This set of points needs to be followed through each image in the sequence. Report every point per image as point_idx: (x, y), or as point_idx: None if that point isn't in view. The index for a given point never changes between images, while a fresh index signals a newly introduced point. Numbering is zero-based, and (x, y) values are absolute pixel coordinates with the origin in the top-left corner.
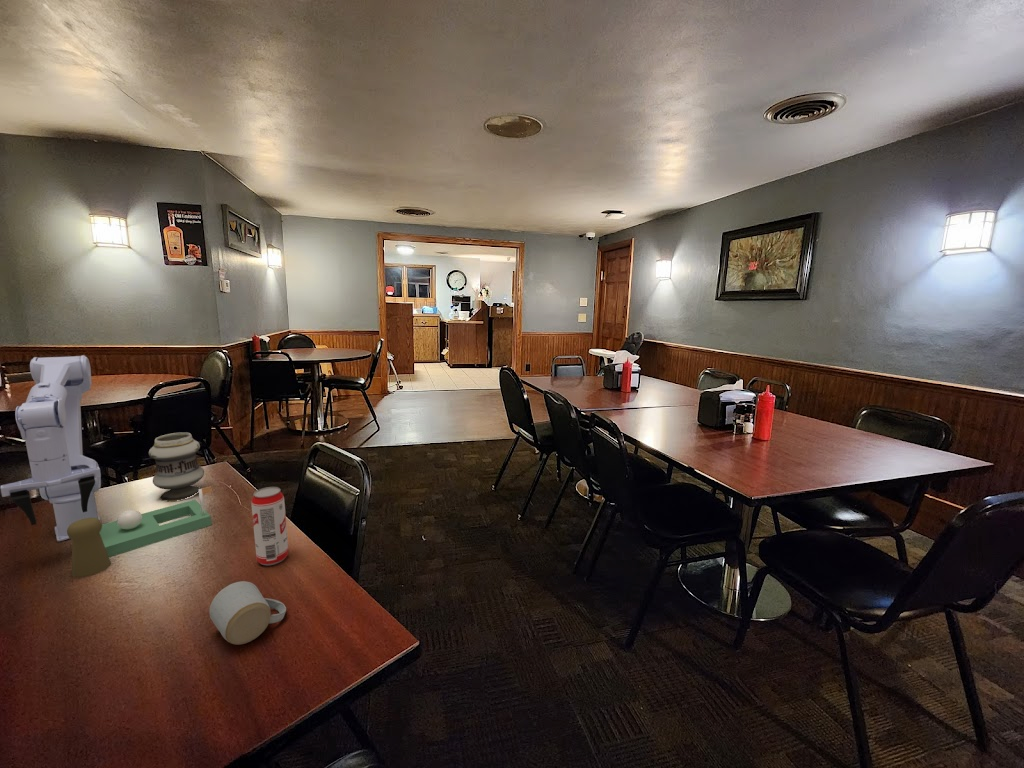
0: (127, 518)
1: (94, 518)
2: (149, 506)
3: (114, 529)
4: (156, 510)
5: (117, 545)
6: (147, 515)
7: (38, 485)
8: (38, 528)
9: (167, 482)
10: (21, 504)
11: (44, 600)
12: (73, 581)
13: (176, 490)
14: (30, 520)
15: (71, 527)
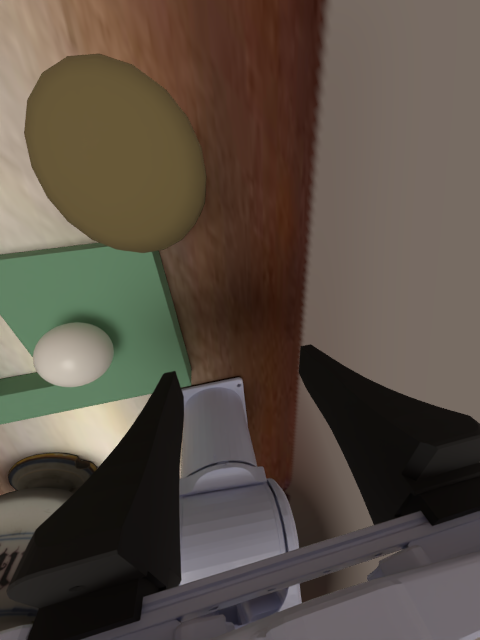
0: (63, 340)
1: (56, 183)
2: (110, 447)
3: (134, 351)
4: (56, 409)
5: (101, 246)
6: (70, 392)
7: (445, 580)
8: (265, 432)
9: (35, 511)
10: (410, 405)
11: (254, 36)
12: (196, 129)
13: (52, 484)
14: (323, 353)
15: (175, 124)
